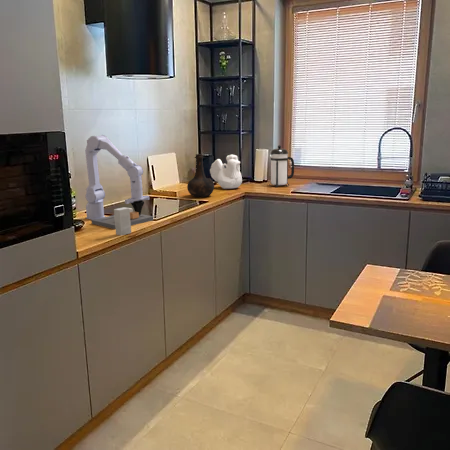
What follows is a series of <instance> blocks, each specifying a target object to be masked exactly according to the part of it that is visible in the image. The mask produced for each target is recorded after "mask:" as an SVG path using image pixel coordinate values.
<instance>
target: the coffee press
mask: <svg viewBox="0 0 450 450" xmlns="http://www.w3.org/2000/svg"><path fill="white" fill-rule="evenodd" d="M281 147H282V146H281V145H280V144H279V145H278V146H277V148H273V149H271V151H270V155H269V157H270V183H269V186H270V187H271V186H275V188H278V187H279V186H286V187H287V188H288V187H289V186H290V184H289V182H288V180H289V179H293V177H294V175H295V160H294V159H293V157H292V156H288V154H289V151H288V150H287V149H286V148H281ZM289 160H290V161H291V167H290V168H291V169H290V170H291V171H290V172H291V174H290V175H289V176H288V173H289V172H288V170H289V168H288V167H289V165H288V164H289Z"/></svg>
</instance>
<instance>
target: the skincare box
mask: <svg viewBox="0 0 450 450" xmlns="http://www.w3.org/2000/svg"><path fill="white" fill-rule="evenodd" d="M129 208H130V207H126V206H125V207H117V208H114V209H113V215H114V218H115V229H114V230H115V235H117V236H120V237H121V236H125V235H128V234H129V235H130V234H132V226H131V222H130V210H129Z"/></svg>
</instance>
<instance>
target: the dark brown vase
mask: <svg viewBox="0 0 450 450" xmlns="http://www.w3.org/2000/svg"><path fill="white" fill-rule="evenodd" d="M203 158H205V156H203V154H202V153H196V154H195V157H194V159H195V170H194V171H195V172H194V176H193V177H192V179H190V180H189V181H188V183H187V186H186V187H187V191H188V193H189V195H191V196H192V197H194V198H207V197H209V196H211V195H212V194H213V192H214V189H215V184H214V181H213V180H212V179H211V178H210V177H209V178H207V177H206V174H205V171H204V170H205V168H204V162H203V161H204V160H203Z"/></svg>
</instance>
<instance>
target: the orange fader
mask: <svg viewBox="0 0 450 450" xmlns="http://www.w3.org/2000/svg"><path fill="white" fill-rule="evenodd" d="M135 218H139V212H135V210H133V212H130V219H135Z"/></svg>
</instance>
